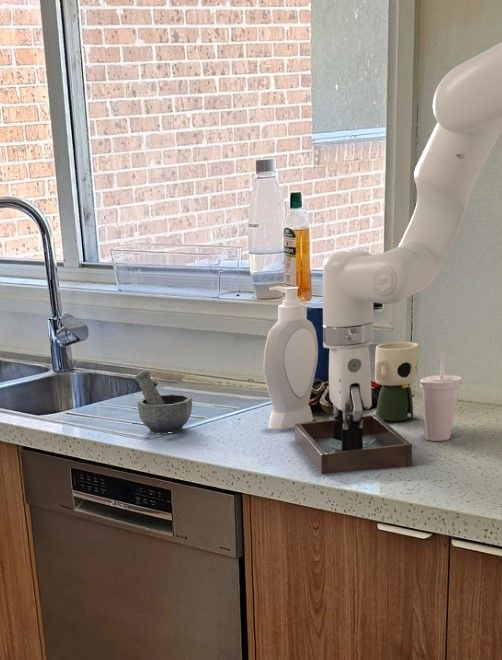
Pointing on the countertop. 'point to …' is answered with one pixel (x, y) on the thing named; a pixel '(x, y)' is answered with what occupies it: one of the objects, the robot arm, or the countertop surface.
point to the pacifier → (335, 443)
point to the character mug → (395, 379)
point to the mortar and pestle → (162, 407)
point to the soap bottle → (290, 363)
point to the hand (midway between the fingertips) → (347, 447)
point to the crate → (388, 456)
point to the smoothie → (439, 403)
